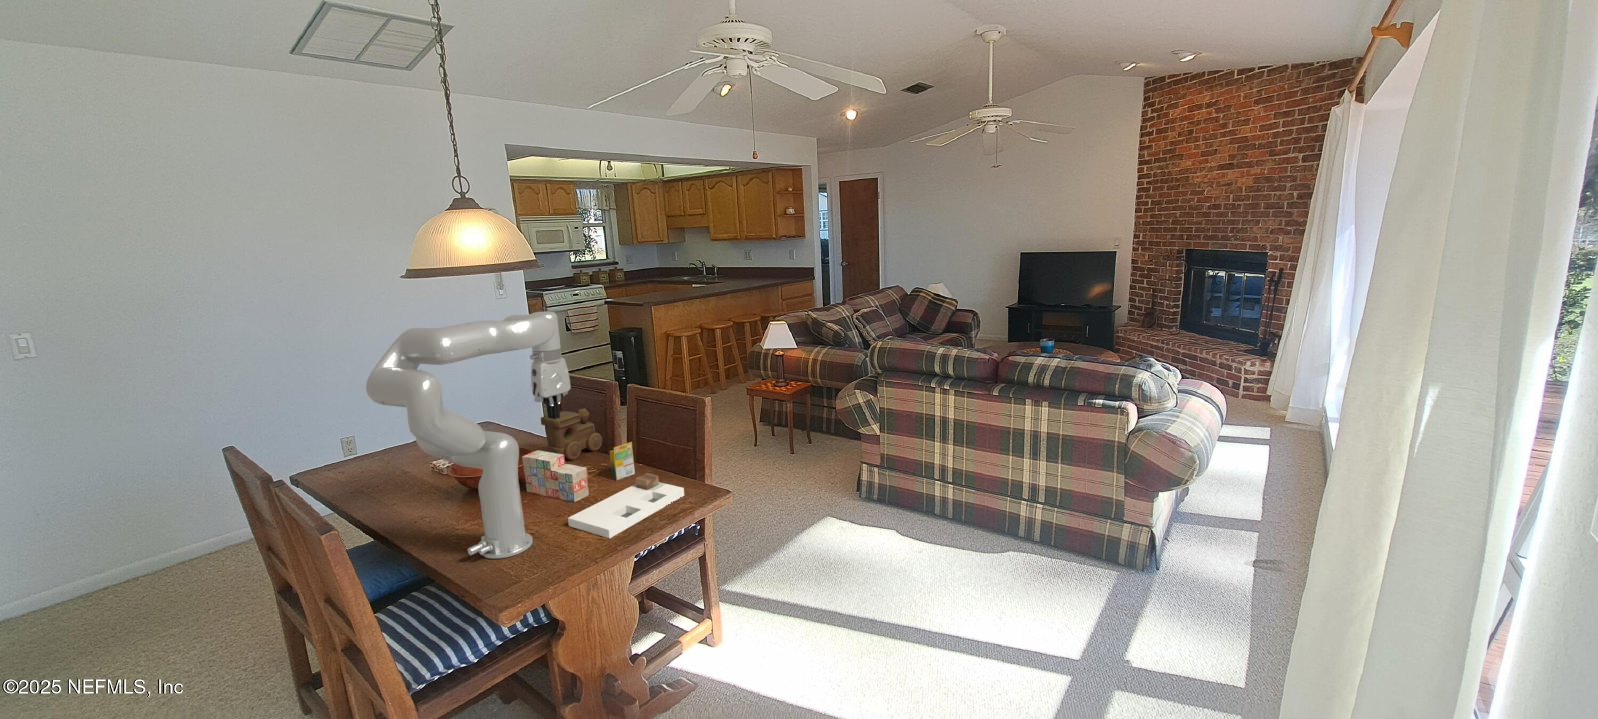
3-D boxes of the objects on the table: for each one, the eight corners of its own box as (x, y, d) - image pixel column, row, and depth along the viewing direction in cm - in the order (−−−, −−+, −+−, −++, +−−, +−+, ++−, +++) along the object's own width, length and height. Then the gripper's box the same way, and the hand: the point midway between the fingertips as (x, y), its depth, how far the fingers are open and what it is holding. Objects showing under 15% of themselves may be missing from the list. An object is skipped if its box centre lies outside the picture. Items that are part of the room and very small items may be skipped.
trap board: (609, 538, 169) (608, 529, 168) (568, 525, 177) (567, 517, 176) (684, 495, 195) (683, 487, 195) (646, 486, 203) (645, 478, 202)
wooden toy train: (565, 465, 224) (560, 420, 220) (543, 460, 229) (538, 416, 226) (606, 447, 241) (602, 406, 237) (585, 443, 246) (581, 402, 243)
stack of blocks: (589, 495, 198) (586, 458, 195) (574, 503, 192) (570, 465, 190) (541, 484, 207) (537, 449, 205) (526, 491, 202) (521, 455, 199)
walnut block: (647, 490, 193) (646, 481, 193) (635, 487, 196) (635, 478, 195) (658, 484, 198) (658, 475, 197) (647, 481, 200) (646, 472, 200)
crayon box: (630, 471, 215) (627, 439, 213) (635, 474, 214) (632, 441, 211) (611, 478, 210) (608, 445, 208) (616, 480, 208) (613, 447, 206)
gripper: (533, 361, 168) (540, 426, 172) (577, 351, 181) (583, 412, 185) (515, 359, 172) (523, 423, 176) (559, 349, 185) (566, 409, 188)
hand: (554, 417), depth 180 cm, fingers closed
